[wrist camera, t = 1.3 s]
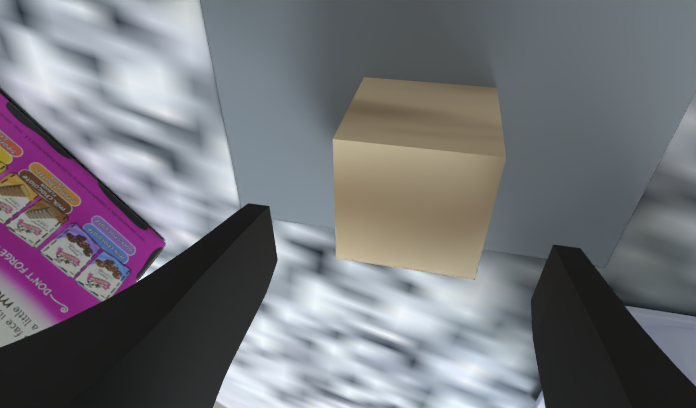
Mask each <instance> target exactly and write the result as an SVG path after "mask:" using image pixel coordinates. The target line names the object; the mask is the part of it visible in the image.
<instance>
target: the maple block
mask: <svg viewBox="0 0 696 408" xmlns="http://www.w3.org/2000/svg"><path fill="white" fill-rule="evenodd" d="M505 161H506V151H505V144H504V136H503V128H502V121H501V113H500V106H499V98H498V91H497V88H494V87H481V86H469V85H456V84H444V83H431V82H419V81H406V80H393V79H381V78H368V77H364V78H363V80H362V82H361V84H360V86H359V88H358V90H357V92H356V94H355V96H354V98H353V100H352V102H351V104H350V106H349V108H348V110H347V112H346V114H345V116H344V118H343V120H342V122H341V124H340V126H339V128H338V129H337V131H336V133H335V135H334V137H333V166H334V200H335V235H336V258H339V259H345V260H352V261H358V262H365V263H371V264H378V265H384V266H390V267H397V268H403V269H410V270H416V271H422V272H429V273H435V274H442V275H448V276H455V277H461V278H467V279H474V280H475V276H476V273H477V269H478V265H479V261H480V257H481V253H482V249H483V246H484V242H485V238H486V234H487V230H488V226H489V222H490V219H491V215H492V211H493V207H494V203H495V199H496V195H497V192H498V188H499V184H500V180H501V176H502V172H503V168H504V165H505Z"/></svg>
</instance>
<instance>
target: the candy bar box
mask: <svg viewBox="0 0 696 408" xmlns="http://www.w3.org/2000/svg"><path fill="white" fill-rule="evenodd" d="M165 245H166V243H165V242H164V241H163V239H162V238H161V237H160V236H159V235H157V234H156V233H155V232H154V231H153V230H152V229H151V228H150V227H149V226H148V225H147V224H145V223H144V222H143V221H142V220H141V219H140V218H139V217H138V216H137V215H136V214H134V213H133V212H132V211H131V210H130V209H129V208H128V207H127V206H126V205H125V204H123V203H122V202H121V201H120V200H119V199H118V198H117V197H116V196H115V195H114V194H112V193H111V192H110V191H109V190H108V189H107V188H106V187H104V186H103V185H102V184H101V183H100V182H99V181H98V180H97V179H96V178H95V177H94V176H92V175H91V174H90V173H89V172H88V171H87V170H86V169H85V168H83V167H82V166H81V165H80V164H79V163H78V162H77V161H76V160H75V159H73V158H72V157H71V156H70V155H69V154H68V153H67V152H66V151H65V150H64V149H62V148H61V147H60V146H59V145H58V144H57V143H56V142H55V141H54V140H52V139H51V138H50V137H49V136H48V135H47V134H46V133H44V132H43V131H42V130H41V129H40V128H39V127H38V126H37V125H36V124H35V123H33V122H32V121H31V120H30V119H29V118H28V117H27V116H26V115H24V114H23V113H22V112H21V111H20V110H19V109H18V108H17V107H16V106H14V105H13V104H12V103H11V102H10V101H9V100H8V99H7V98H5V97H4V96H3V95H2V94H1V93H0V347H3V346H5V345H8V344H10V343H13V342H15V341H18V340H20V339H22V338H25V337H27V336H30V335H32V334H35V333H37V332H39V331H42V330H44V329H46V328H48V327H51V326H53V325H55V324H57V323H60V322H62V321H64V320H66V319H68V318H70V317H72V316H74V315H76V314H78V313H80V312H82V311H84V310H86V309H88V308H90V307H92V306H94V305H96V304H98V303H100V302H102V301H104V300H106V299H108V298H110V297H112V296H114V295H115V294H117V293H119V292H121V291H122V290H124V289H126V288H128V287H129V286H131V285H133V284H135V283H136V282H137V281H138V280H139V279H140V278H141V277H142V275H143V274H144V273H145V272H146V270H147V269H148V268H149V267H150V265H151V264H152V263H153V262H154V260H155V259H156V258H157V257H158V255H159V254H160V253H161V251H162V250H163V249H164V247H165Z"/></svg>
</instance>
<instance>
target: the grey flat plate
mask: <svg viewBox="0 0 696 408" xmlns="http://www.w3.org/2000/svg"><path fill="white" fill-rule="evenodd" d="M200 3H201V8H202V13H203V18H204V23H205V28H206V33H207V38H208V43H209V48H210V53H211V58H212V63H213V68H214V73H215V78H216V83H217V88H218V94H219V99H220V104H221V109H222V114H223V119H224V124H225V129H226V134H227V139H228V144H229V149H230V154H231V159H232V164H233V169H234V174H235V179H236V184H237V189H238V194H239V199H240V204H241V208H242V207H244V206H245V205H247V204H248V203H251V204H258V205H266V206H270V213H271V219H272V220H279V221H286V222H293V223H299V224H306V225H313V226H320V227H327V228H334V229H335V200H334V166H333V137H334V135H335V133H336V131H337V129H338V128H339V126H340V124H341V122H342V120H343V118H344V116H345V114H346V112H347V110H348V108H349V106H350V104H351V102H352V100H353V98H354V96H355V94H356V92H357V90H358V88H359V86H360V84H361V82H362V80H363V78H364V77H368V78H381V79H393V80H406V81H419V82H431V83H444V84H456V85H469V86H481V87H494V88H497V91H498V98H499V106H500V113H501V121H502V128H503V136H504V144H505V151H506V161H505V165H504V168H503V172H502V176H501V180H500V184H499V188H498V192H497V195H496V199H495V203H494V207H493V211H492V215H491V219H490V222H489V226H488V230H487V234H486V238H485V242H484V246H483V249H482V250H488V251H495V252H501V253H508V254H515V255H522V256H529V257H536V258H543V259H548V256H549V254H550V251H551V249H552V246H553V244H554V245H561V246H569V247H576V248H581V249H582V251H583V252H584V253H585V255H586V256H587V257H588V259H589V260H590V261H591V263H592V264H593V265H594V266H599V267H605V266H606V264H607V262H608V260H609V258H610V256H611V255H612V253H613V251H614V249H615V247H616V245H617V243H618V241H619V239H620V237H621V235H622V233H623V231H624V229H625V228H626V226H627V224H628V222H629V220H630V218H631V216H632V214H633V212H634V210H635V208H636V206H637V204H638V202H639V200H640V199H641V197H642V195H643V193H644V191H645V189H646V187H647V185H648V183H649V181H650V179H651V177H652V175H653V173H654V172H655V170H656V168H657V166H658V164H659V162H660V160H661V158H662V156H663V154H664V152H665V150H666V148H667V146H668V144H669V143H670V141H671V139H672V137H673V135H674V133H675V131H676V129H677V127H678V125H679V123H680V121H681V119H682V117H683V116H684V114H685V112H686V110H687V108H688V106H689V104H690V102H691V100H692V98H693V96H694V94H695V92H696V0H200Z"/></svg>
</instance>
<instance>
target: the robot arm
mask: <svg viewBox="0 0 696 408" xmlns="http://www.w3.org/2000/svg"><path fill="white" fill-rule="evenodd" d="M277 261H278V260H277V253H276V246H275V239H274V233H273V226H272V219H271V213H270V206H266V205H258V204H251V203H248V204H247V205H245V206H244V207H242V208H241V209H240V210H238V211H237V212H236V213H234V214H233V215H232V216H230V217H229V218H228V219H227V220H225V221H224V222H223V223H221V224H220V225H219V226H217V227H216V228H215V229H214V230H212V231H211V232H210V233H208V234H207V235H206V236H204V237H203V238H202V239H200V240H199V241H197V242H196V243H195V244H193V245H192V246H191V247H189V248H188V249H187V250H185V251H184V252H182V253H181V254H179V255H178V256H176V257H175V258H173V259H172V260H170V261H169V262H167V263H166V264H164V265H163V266H162V267H160V268H159V269H157V270H156V271H154V272H153V273H151V274H149V275H148V276H146V277H145V278H143V279H141V280H140V281H138V282H136V283H135V284H133V285H131V286H129V287H128V288H126V289H124V290H122V291H121V292H119V293H117V294H115V295H114V296H112V297H110V298H108V299H106V300H104V301H102V302H100V303H98V304H96V305H94V306H92V307H90V308H88V309H86V310H84V311H82V312H80V313H78V314H76V315H74V316H72V317H70V318H68V319H66V320H64V321H62V322H60V323H57V324H55V325H53V326H51V327H48V328H46V329H44V330H42V331H39V332H37V333H35V334H32V335H30V336H27V337H25V338H22V339H20V340H18V341H15V342H13V343H10V344H8V345H5V346H3V347H0V408H213V406H214V403H215V400H216V398H217V395H218V393H219V390H220V387H221V385H222V382H223V380H224V377H225V375H226V373H227V371H228V369H229V366H230V364H231V362H232V360H233V358H234V356H235V354H236V352H237V350H238V348H239V346H240V344H241V342H242V340H243V338H244V336H245V334H246V333H247V331H248V329H249V327H250V325H251V323H252V321H253V319H254V317H255V315H256V313H257V311H258V309H259V307H260V305H261V303H262V301H263V299H264V296H265V294H266V292H267V289H268V287H269V284H270V281H271V278H272V275H273V272H274V269H275V266H276V263H277ZM531 310H532V331H533V342H534V348H535V353H536V359H537V365H538V370H539V376H540V381H541V386H542V391H541V393H540V395H539V397H538V398H537V400H536V402H535V408H696V317H694V316H688V315H682V314H675V313H669V312H662V311H656V310H650V309H643V308H637V307H631V306H624V304H623V303H622V302H621V301H620V299H619V298H618V297H617V295H616V294H615V293H614V292H613V290H612V289H611V288H610V286H609V285H608V284H607V282H606V281H605V280H604V278H603V277H602V276H601V274H600V273H599V272H598V271H597V269H596V268H595V267H594V265H593V264H592V263H591V261H590V260H589V259H588V257H587V256H586V255H585V253H584V252H583V251H582V249H581V248H576V247H569V246H561V245H554V244H553V246H552V249H551V251H550V254H549V256H548V259H547V261H546V264H545V266H544V269H543V271H542V274H541V277H540V279H539V282H538V284H537V287H536V289H535V292H534V294H533V297H532V299H531Z"/></svg>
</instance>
